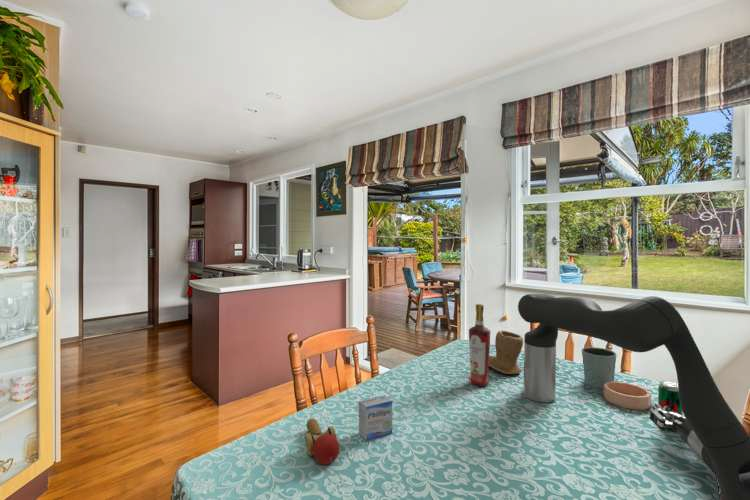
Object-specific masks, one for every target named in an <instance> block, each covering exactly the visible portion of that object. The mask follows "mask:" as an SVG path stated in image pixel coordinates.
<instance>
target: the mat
mask: <svg viewBox="0 0 750 500" xmlns="http://www.w3.org/2000/svg"><path fill="white" fill-rule="evenodd" d="M597 392H598V394H599V395H600V396H601V398H602V400H603V402H604V404H605V405H606V406H608V407H615V408H621V409H624V408H623V407H620V406H617V405H614V404H612V403H610V402H608V401H607V400H606V399H605V398H604V391H601V390H598V391H597ZM653 405H654V404H652V403H651V405H650V408H649V409H646V410H641V411H643V412H649V413H650V409H653Z"/></svg>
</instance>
